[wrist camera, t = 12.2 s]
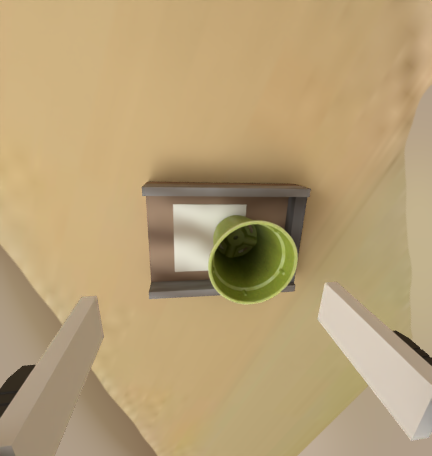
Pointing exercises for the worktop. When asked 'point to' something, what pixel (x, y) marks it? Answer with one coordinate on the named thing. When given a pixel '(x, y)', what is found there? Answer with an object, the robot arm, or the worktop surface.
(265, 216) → the dock
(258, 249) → the plant pot
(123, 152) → the worktop surface
